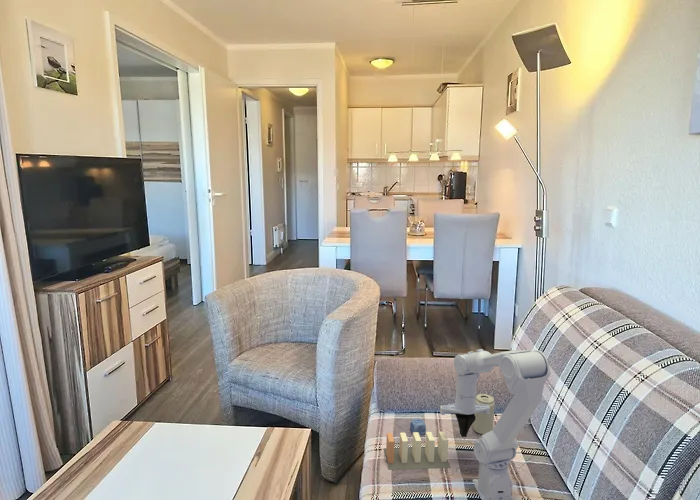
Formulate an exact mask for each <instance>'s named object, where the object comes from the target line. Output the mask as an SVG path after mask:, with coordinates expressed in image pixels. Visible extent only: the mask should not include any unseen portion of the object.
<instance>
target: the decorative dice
mask: <svg viewBox="0 0 700 500" xmlns="http://www.w3.org/2000/svg"><path fill="white" fill-rule="evenodd" d="M409 428H410V432H411V433H412V434H413V432H418V433H419V436H424V435H425V434H426V432H427V426H426V423H425V421H424V420H423V419H421V418H414V419H412V420H411V421H410V423H409Z"/></svg>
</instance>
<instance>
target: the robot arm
mask: <svg viewBox="0 0 700 500" xmlns="http://www.w3.org/2000/svg"><path fill="white" fill-rule="evenodd" d="M475 351H476V352H475ZM475 351H468V352H467V353H465V354H460V353H458V354H456V355H455V356H454V357H453V358H454V359H453V367H454V370H455V372H456V387H455V402H454V403H452V402H451V403H449V404H444V405H439V406H440V407H439V412H440V414H441V415H442V416H445V415H447V414H451V415H452V414H454V415H455V417H456V421H457V423H458V428H459V434H460V436H461V437H462V438H467V435H468V433H469V431H470V429H471V426H473V422H474V421H475V419H476V417H475V415H474V413H486V414H490V407H489V406H488V405H483V404H476V403H475V402H476V396H477V386H478V380H479V378H480V374H484V373H489V372H492V371H493V370H494V368H495V367H498V368H499V371H500V372H501V373H502V376H503V378H504V381H505V384H506V386H507V389H508V392H509V394H512V395H513V397H512V398H511V399H510V401H509V402H508V404H507V405H506V407H505V409H504V411H503V412H502V414H501V415H500V417H499V418H498V420H497V422H496V424H494V426H493V430H491V431H490V432H488V433H486V434H484V435H482V434H481V436H480V437H479V438H476V439H475V440H474V443H473V454H474V456H475V458H476V460H477V462H478V463H479V465H478V479H477V478H475V479H474V478H473V479H472V483H473V485H474V488H475V489H476V491H477V493H478V495H479V498H480V499H481V500H513V498H512V491H513V481H512V479H511V477H510V475H509V470H508V469H509V465H510V464H511V463H512V462H511V461H512V460H513V459H515V458H516V456H517V451H518V448H519V446H520V444H519V442H518V439H517V437H518V435H519V434H520V433H521V432H522V430H523V428H524V427H525V426H526V425H527V422H528V421H529V420H530V418H531V417H532V415H533V414H534V413H535V411H536V409H537V408H538V407H539V405H540V404H541V401H542V397H543V391H544V387H545V384H546V382H547V381H548V379H549V377H551V375H552V374H551V368H550V364H549V360H548V358H547V356H546V354H545V353H544V352H543V351H541V350H532V351H531V350H527V349H525V350H524V349H522V350H519V349H518V350H507V351H506V350H505V351H500V352H496V353H491V352H489V351H487V350H484V349H483V348H479V349H476V350H475Z"/></svg>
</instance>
